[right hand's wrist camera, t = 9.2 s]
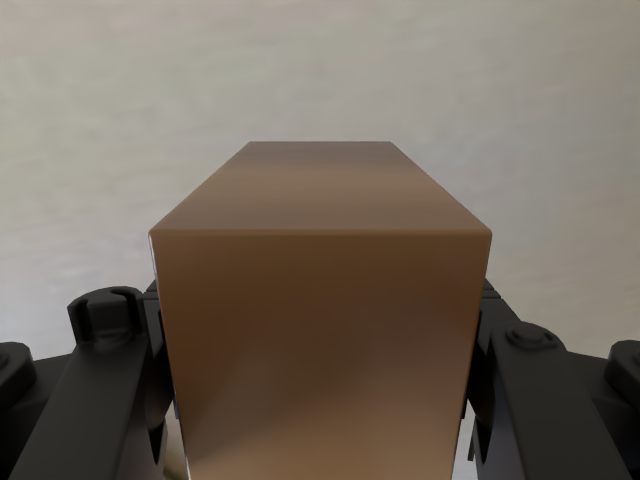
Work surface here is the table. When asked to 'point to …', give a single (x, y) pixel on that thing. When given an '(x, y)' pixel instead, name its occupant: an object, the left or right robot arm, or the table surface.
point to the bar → (320, 314)
